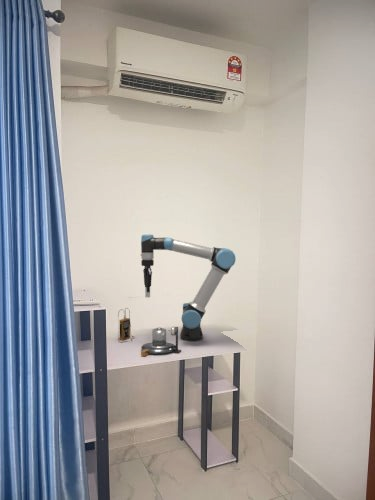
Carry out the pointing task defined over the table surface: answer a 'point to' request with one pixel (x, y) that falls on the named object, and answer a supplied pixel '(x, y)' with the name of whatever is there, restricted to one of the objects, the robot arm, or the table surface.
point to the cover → (159, 339)
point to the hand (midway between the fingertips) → (147, 297)
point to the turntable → (147, 350)
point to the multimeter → (125, 328)
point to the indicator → (175, 332)
